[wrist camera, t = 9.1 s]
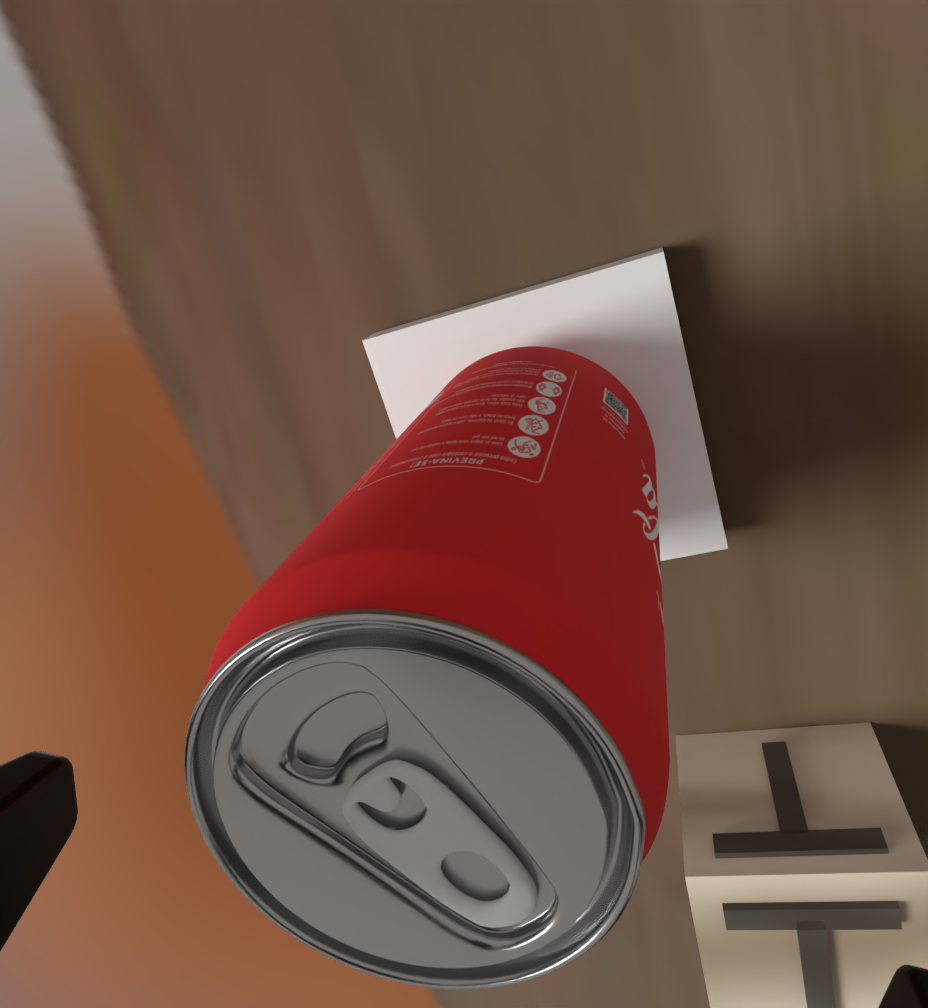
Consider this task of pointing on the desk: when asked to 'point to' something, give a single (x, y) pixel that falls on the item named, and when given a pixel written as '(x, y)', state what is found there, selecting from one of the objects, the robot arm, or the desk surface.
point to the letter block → (800, 867)
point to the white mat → (596, 336)
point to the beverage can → (454, 691)
